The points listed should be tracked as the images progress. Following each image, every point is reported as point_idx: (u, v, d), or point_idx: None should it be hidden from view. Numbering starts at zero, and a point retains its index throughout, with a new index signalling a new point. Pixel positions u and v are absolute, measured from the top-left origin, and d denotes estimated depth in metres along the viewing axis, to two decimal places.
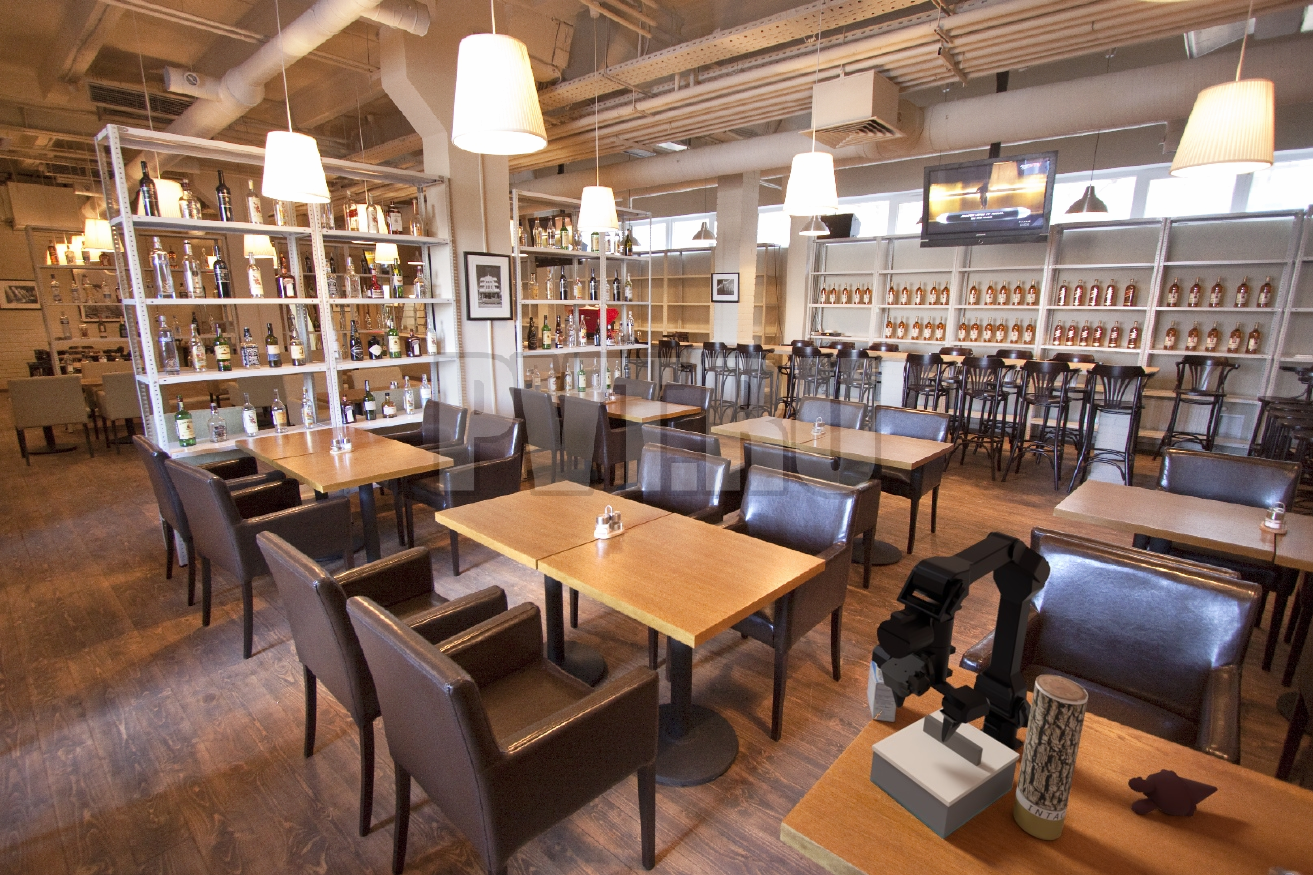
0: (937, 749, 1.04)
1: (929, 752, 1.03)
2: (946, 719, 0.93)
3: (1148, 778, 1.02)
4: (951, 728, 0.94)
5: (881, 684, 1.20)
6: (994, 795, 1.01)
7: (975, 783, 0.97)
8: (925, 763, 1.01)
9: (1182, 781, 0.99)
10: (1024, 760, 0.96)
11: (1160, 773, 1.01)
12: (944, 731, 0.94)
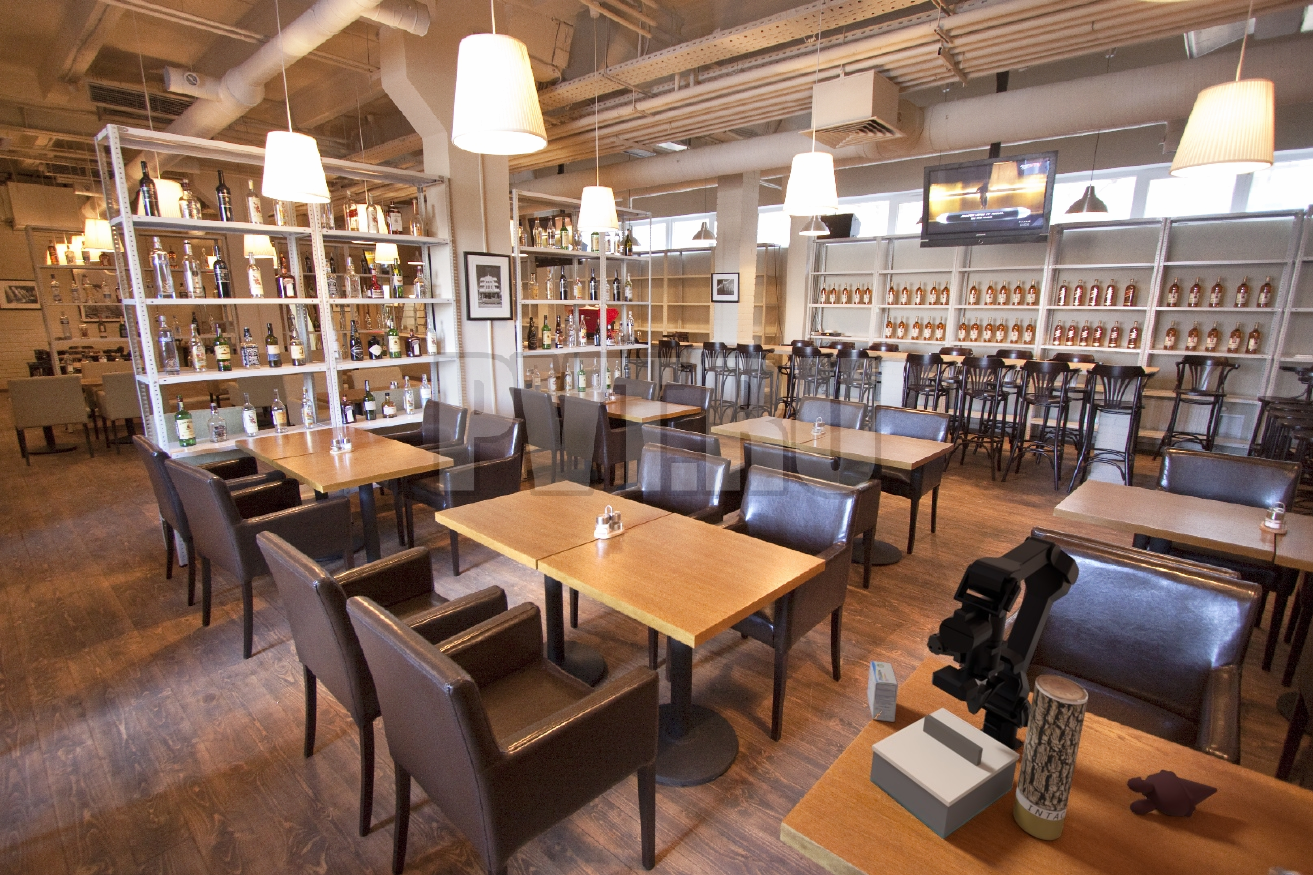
0: (937, 749, 1.04)
1: (929, 752, 1.03)
2: None
3: (1147, 778, 1.02)
4: None
5: (881, 684, 1.20)
6: (994, 795, 1.01)
7: (975, 783, 0.97)
8: (925, 763, 1.01)
9: (1181, 782, 0.99)
10: (1024, 760, 0.96)
11: (1159, 773, 1.01)
12: None
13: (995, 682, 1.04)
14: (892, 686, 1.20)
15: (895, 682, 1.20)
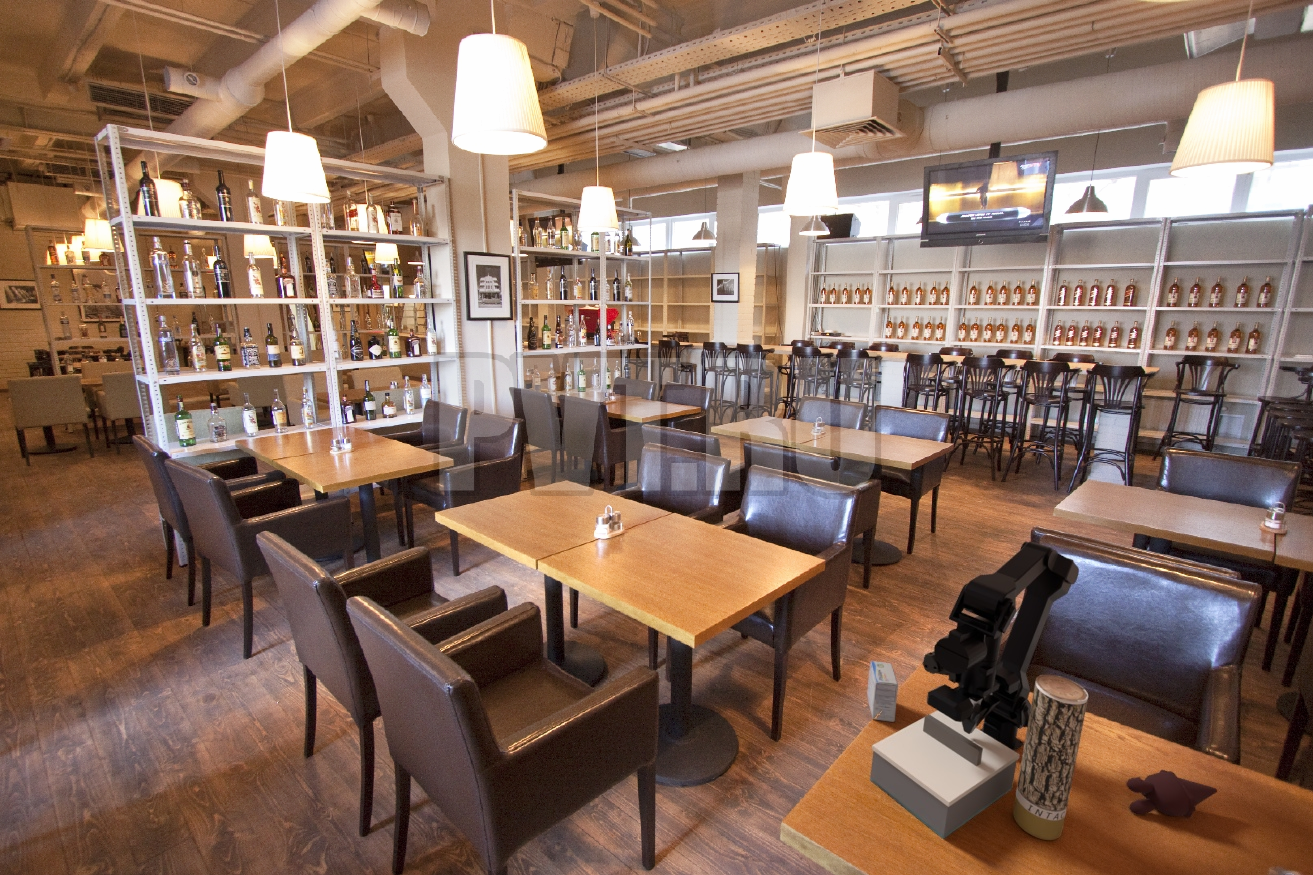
0: (937, 749, 1.04)
1: (929, 752, 1.03)
2: None
3: (1147, 779, 1.02)
4: None
5: (881, 684, 1.20)
6: (994, 795, 1.01)
7: (975, 783, 0.97)
8: (925, 763, 1.01)
9: (1181, 782, 0.99)
10: (1024, 760, 0.96)
11: (1159, 774, 1.01)
12: None
13: (990, 702, 1.04)
14: (892, 686, 1.20)
15: (895, 682, 1.20)
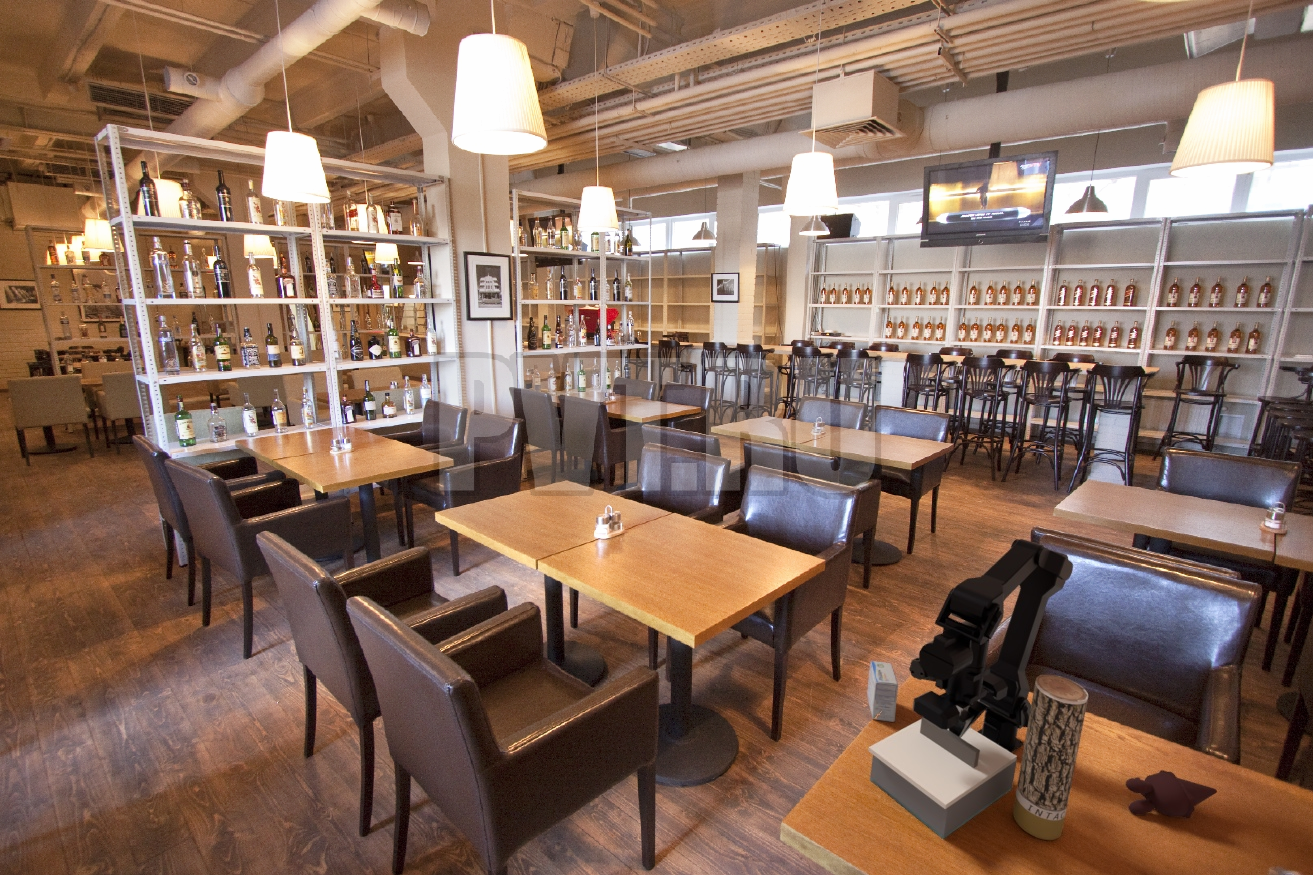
0: (934, 750, 1.04)
1: (926, 754, 1.03)
2: None
3: (1146, 779, 1.02)
4: None
5: (881, 684, 1.20)
6: (994, 795, 1.01)
7: (972, 785, 0.96)
8: (922, 765, 1.00)
9: (1180, 782, 0.99)
10: (1024, 760, 0.96)
11: (1158, 774, 1.01)
12: None
13: (978, 708, 1.02)
14: (892, 686, 1.20)
15: (895, 682, 1.20)
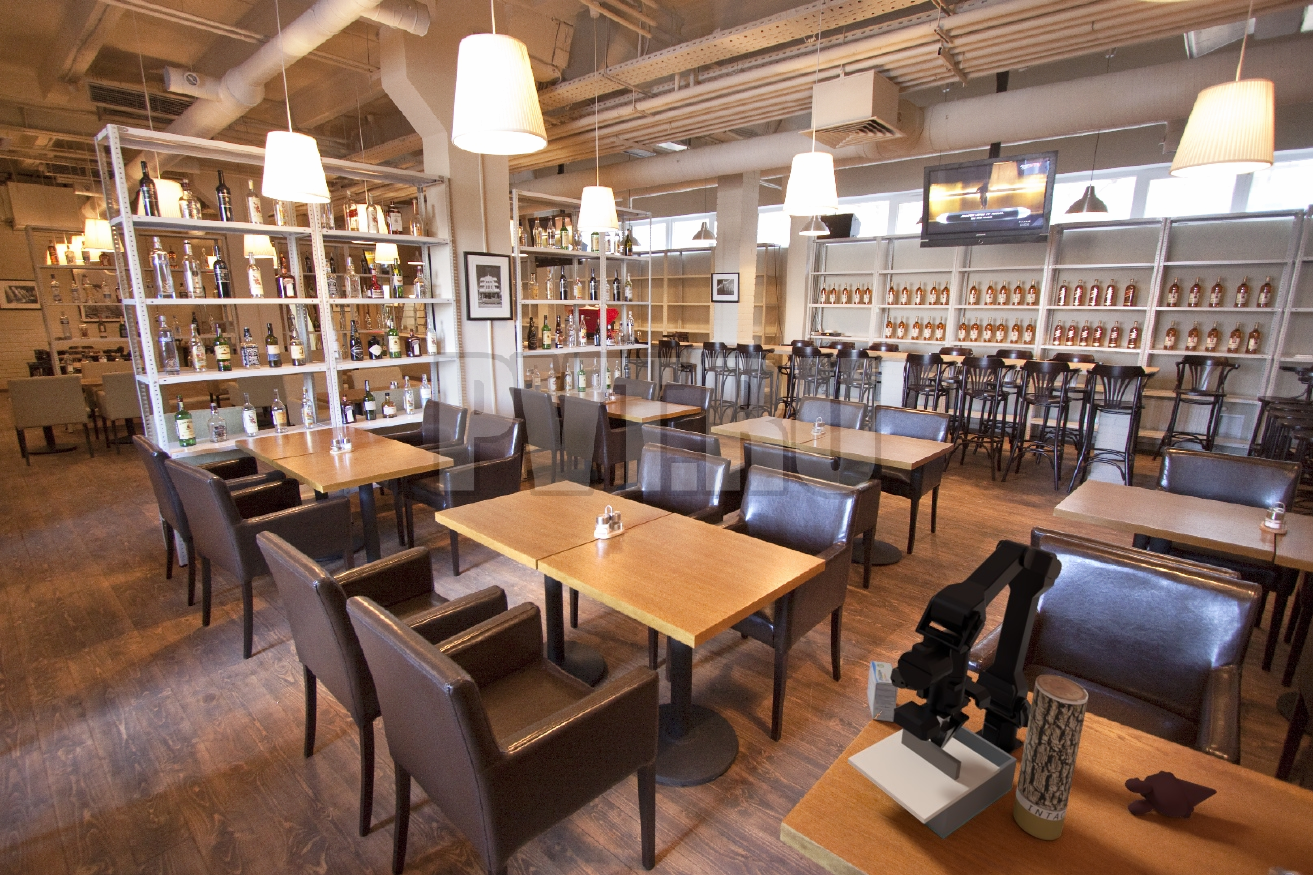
0: (915, 762, 1.01)
1: (906, 766, 1.00)
2: None
3: (1146, 779, 1.02)
4: None
5: (881, 684, 1.20)
6: (994, 795, 1.01)
7: (952, 798, 0.93)
8: (902, 777, 0.97)
9: (1180, 783, 0.99)
10: (1024, 760, 0.96)
11: (1158, 774, 1.01)
12: None
13: (959, 719, 1.00)
14: (892, 686, 1.20)
15: None
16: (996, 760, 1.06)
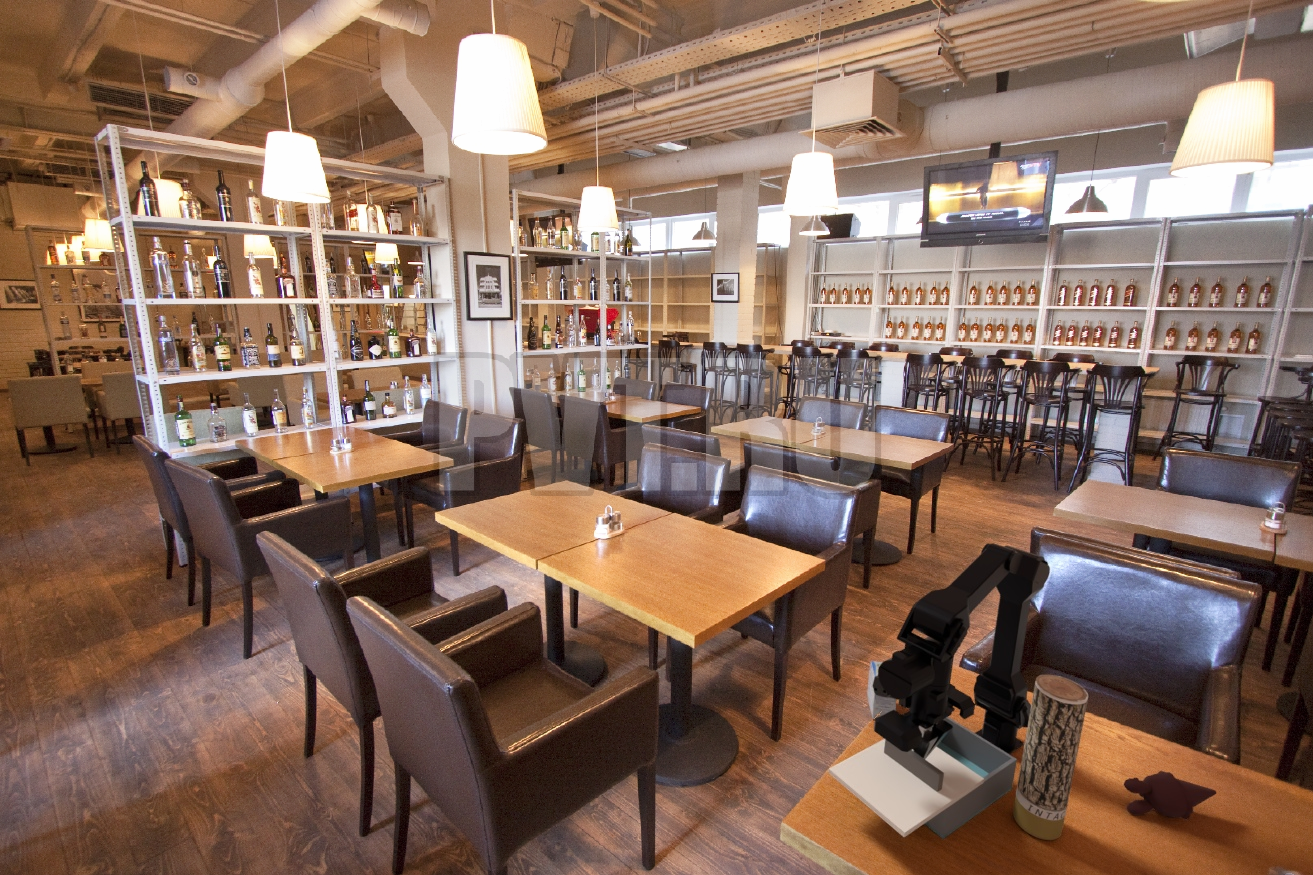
0: (897, 772, 0.98)
1: (888, 776, 0.97)
2: None
3: (1145, 779, 1.02)
4: None
5: None
6: (994, 795, 1.01)
7: (934, 811, 0.91)
8: (883, 788, 0.95)
9: (1179, 783, 0.99)
10: (1024, 760, 0.96)
11: (1157, 775, 1.01)
12: None
13: (943, 728, 0.97)
14: None
15: None
16: (996, 760, 1.06)
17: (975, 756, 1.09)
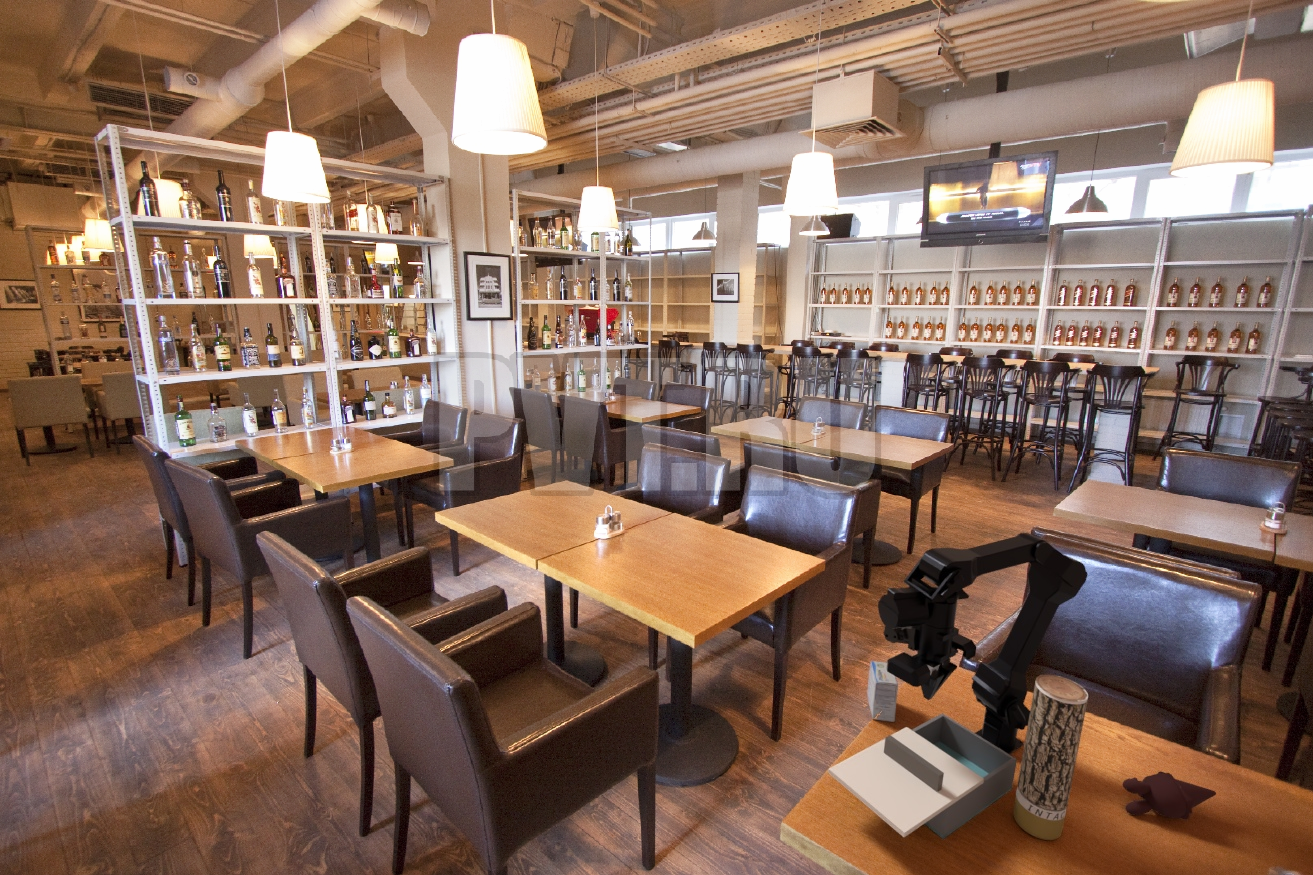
0: (897, 772, 0.98)
1: (888, 776, 0.97)
2: None
3: (1144, 780, 1.02)
4: None
5: (881, 684, 1.20)
6: (994, 795, 1.01)
7: (934, 811, 0.91)
8: (883, 788, 0.95)
9: (1178, 783, 0.98)
10: (1024, 760, 0.96)
11: (1156, 775, 1.01)
12: None
13: (948, 668, 1.08)
14: (892, 686, 1.20)
15: (895, 682, 1.20)
16: (996, 760, 1.06)
17: (975, 756, 1.09)
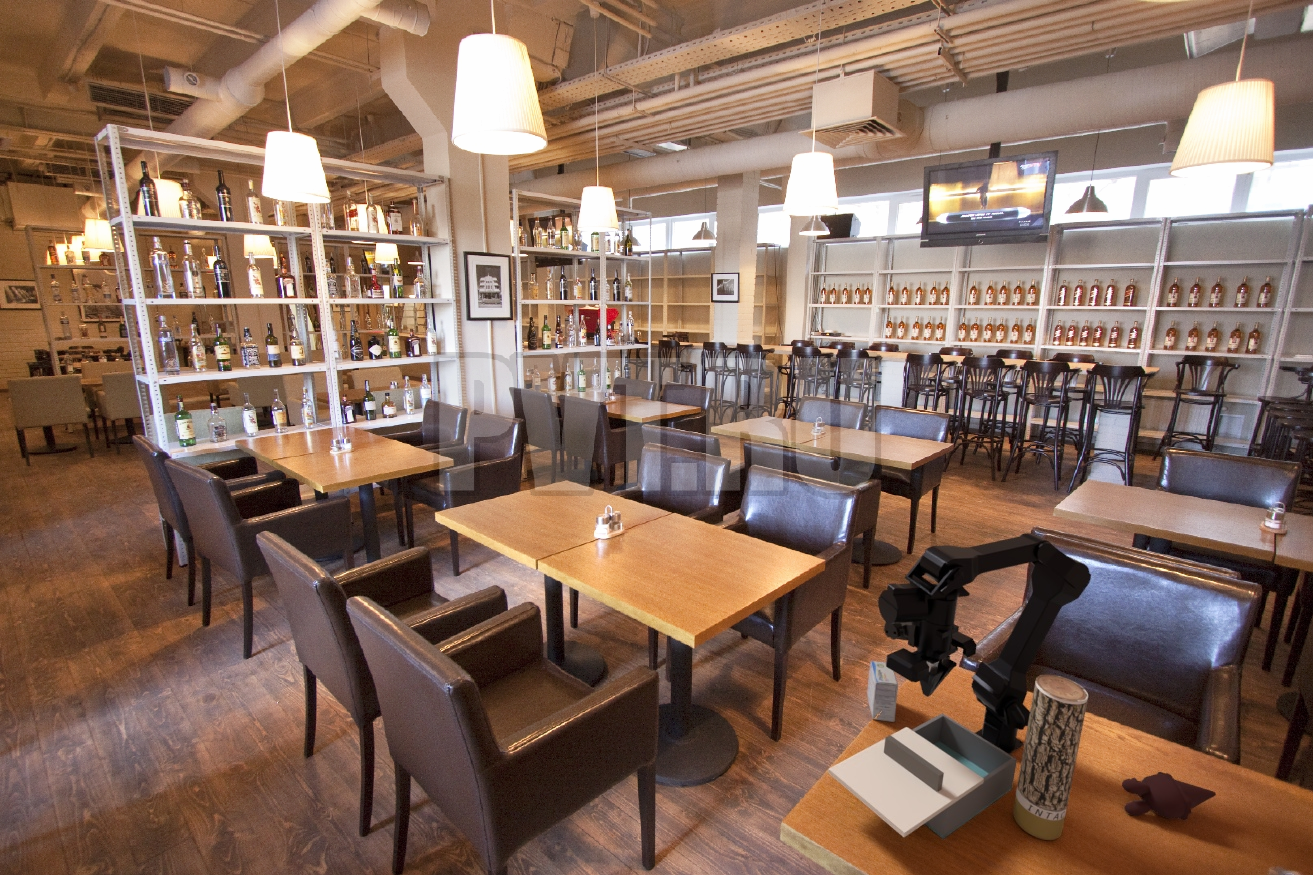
0: (897, 772, 0.98)
1: (888, 776, 0.97)
2: None
3: (1143, 780, 1.02)
4: (922, 679, 1.10)
5: (881, 684, 1.20)
6: (994, 795, 1.01)
7: (934, 811, 0.91)
8: (883, 788, 0.95)
9: (1177, 784, 0.98)
10: (1024, 760, 0.96)
11: (1156, 775, 1.01)
12: None
13: (947, 665, 1.08)
14: (892, 686, 1.20)
15: (895, 682, 1.20)
16: (996, 760, 1.06)
17: (975, 756, 1.09)
